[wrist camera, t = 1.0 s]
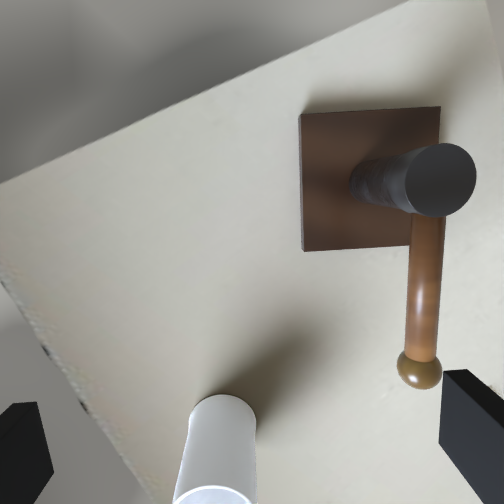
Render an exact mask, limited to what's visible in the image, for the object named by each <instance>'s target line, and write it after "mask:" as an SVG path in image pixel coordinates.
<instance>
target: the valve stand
mask: <svg viewBox="0 0 504 504" xmlns="http://www.w3.org/2000/svg"><path fill="white" fill-rule="evenodd" d="M440 112H441V106H435V107H417V108H400V109H383V110H366V111H348V112H331V113H314V114H301V115H300V116H299V117H298V123H299V163H300V203H301V243H302V250H303V251H304V252H310V251H326V250H342V249H359V248H375V247H391V246H408V245H410V226H411V213H407V212H405V211H403V210H402V209H400V208H399V207H398V206H397V205H396V204H395V203H394V201H393V200H392V197H391V195H390V191H389V178H390V174H391V171H392V169H393V167H394V165H395V164H396V162H397V161H398V160H399V159H400V158H401V157H402V156H403V155H404V154H406V153H407V152H409V151H411V150H413V149H416V148H421V147H425V146H430V145H435V144H438V143H439V127H440Z"/></svg>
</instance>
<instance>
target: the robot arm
mask: <svg viewBox="0 0 504 504" xmlns="http://www.w3.org/2000/svg"><path fill="white" fill-rule="evenodd" d="M439 444H440V446H441V447H442V448H443V450H444V451H445V452H446V454H447V455H448V456H449V458H450V459H451V460H452V462H453V463H454V464H455V466H456V467H457V468H458V470H459V471H460V473H461V474H462V475H463V477H464V478H465V479H466V481H467V482H468V483H469V485H470V486H471V487H472V489H473V490H474V491H475V493H476V494H477V495H478V497H479V498H480V499H481V501H482V502H483V503H484V504H504V400H503V399H502V398H501V397H500V396H498V395H497V394H496V393H495V392H494V391H492V390H491V389H490V388H489V387H488V386H486V385H485V384H484V383H483V382H482V381H480V380H479V379H478V378H477V377H476V376H475V375H473V374H472V373H471V372H470V371H469V370H467V369H462V370H449V371H443V384H442V399H441V414H440V429H439ZM53 474H54V470H53V466H52V462H51V458H50V454H49V449H48V446H47V441H46V437H45V434H44V429H43V425H42V421H41V417H40V413H39V409H38V405H37V402H26V403H13V404H12V405H11V406H9V408H7V409H6V410H5V411H4V412H3V413H2V414H1V415H0V504H34V502H35V501H36V499H37V498H38V496H39V495H40V493H41V492H42V490H43V489H44V487H45V486H46V484H47V483H48V481H49V479H50V478H51V477H52V475H53Z"/></svg>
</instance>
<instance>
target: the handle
mask: <svg viewBox="0 0 504 504" xmlns="http://www.w3.org/2000/svg"><path fill="white" fill-rule="evenodd" d="M475 184H476V168H475V164H474V162H473V160H472V158H471V156H470V155H469V154H468V153H467V152H466V151H465V150H464V149H462V148H461V147H459V146H457V145H454V144H449V143H441V144H435V145H430V146H425V147H421V148H416V149H413V150H411V151H409V152H407V153H406V154H404V155H403V156H402V157H401V158H400V159H399V160H398V161H397V162H396V164H395V165H394V167H393V169H392V171H391V174H390V178H389V191H390V195H391V197H392V200H393V201H394V203H395V204H396V205H397V206H398V207H399V208H400V209H402V210H403V211H405V212H407V213H411V226H410V246H409V266H408V286H407V306H406V327H405V347H404V351H403V352H402V353H401V354H400V355H399V357H398V360H397V370H398V373H399V375H400V377H401V378H402V380H403V381H404V382H405V383H407V384H408V385H409V386H411V387H413V388H416V389H421V390H426V389H430V388H433V387H434V386H436V385H437V384H438V383H439V382H440V380H441V377H442V366H441V363H440V361H439V359H438V358H437V357H436V349H437V335H438V321H439V308H440V294H441V281H442V267H443V253H444V240H445V226H446V216H447V215H450V214H452V213H454V212H456V211H457V210H459V209H460V208H461V207H462V206H464V204H465V203H466V202H467V201H468V200H469V198H470V197H471V195H472V193H473V191H474V188H475Z"/></svg>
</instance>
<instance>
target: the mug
mask: <svg viewBox="0 0 504 504" xmlns="http://www.w3.org/2000/svg"><path fill="white" fill-rule="evenodd" d="M255 431H256V418H255V415H254V412H253V410H252V409H251V407H250V406H249V405H248V404H247V403H246V402H244V401H243V400H241V399H239V398H237V397H235V396H231V395H214V396H211V397H208V398H206V399H204V400H202V401H201V402H200V403H198V404H197V405H196V407H195V408H194V409H193V411H192V413H191V415H190V419H189V432H188V436H187V441H186V445H185V449H184V454H183V458H182V463H181V467H180V471H179V476H178V480H177V484H176V489H175V493H174V497H173V502H172V504H257V483H256V456H255Z"/></svg>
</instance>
